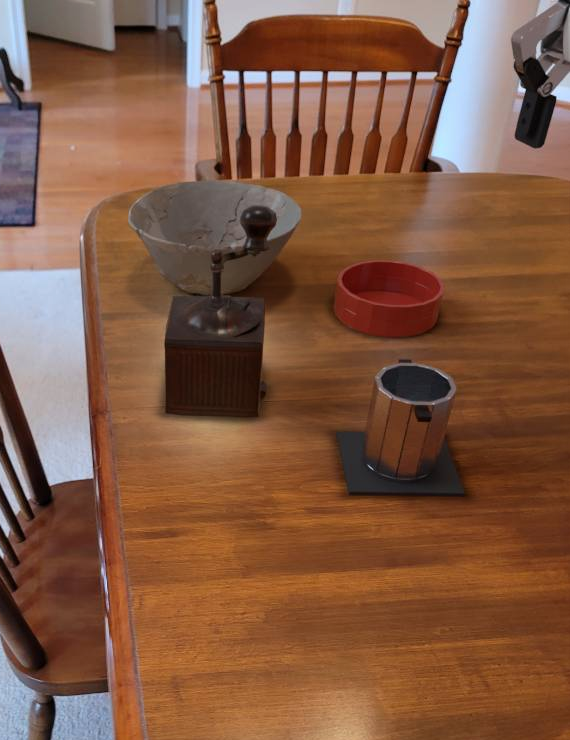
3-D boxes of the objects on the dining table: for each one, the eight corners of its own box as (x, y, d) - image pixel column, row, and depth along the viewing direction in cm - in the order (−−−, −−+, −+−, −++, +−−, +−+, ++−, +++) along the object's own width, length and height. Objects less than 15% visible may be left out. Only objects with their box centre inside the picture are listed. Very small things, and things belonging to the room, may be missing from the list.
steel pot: (424, 432, 87) (443, 355, 81) (444, 492, 80) (467, 413, 73) (354, 431, 87) (368, 355, 81) (369, 491, 80) (385, 412, 74)
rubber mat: (441, 438, 87) (442, 432, 87) (463, 499, 80) (465, 493, 79) (335, 437, 88) (336, 431, 87) (348, 498, 80) (349, 491, 80)
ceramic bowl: (298, 253, 121) (306, 182, 115) (287, 329, 105) (295, 252, 98) (149, 243, 124) (147, 174, 118) (115, 316, 108) (111, 240, 101)
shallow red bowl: (425, 292, 112) (432, 260, 109) (446, 341, 102) (454, 307, 99) (328, 292, 112) (332, 259, 109) (340, 340, 103) (345, 306, 100)
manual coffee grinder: (265, 422, 90) (279, 261, 78) (163, 417, 91) (161, 257, 78) (266, 349, 101) (279, 199, 89) (175, 345, 102) (175, 196, 90)
